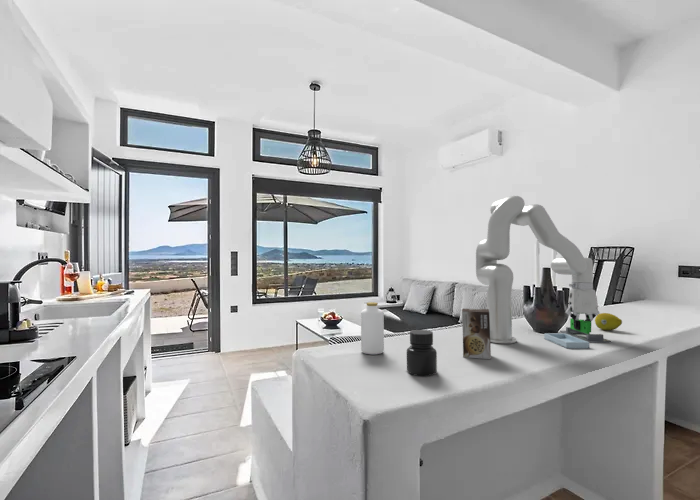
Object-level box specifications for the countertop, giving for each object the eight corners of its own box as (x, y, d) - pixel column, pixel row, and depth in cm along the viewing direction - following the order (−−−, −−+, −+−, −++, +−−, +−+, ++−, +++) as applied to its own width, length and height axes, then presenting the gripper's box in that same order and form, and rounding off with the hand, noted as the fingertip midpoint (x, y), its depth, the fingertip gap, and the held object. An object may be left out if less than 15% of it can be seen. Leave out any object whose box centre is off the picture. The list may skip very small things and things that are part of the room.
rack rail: (588, 342, 140) (588, 336, 140) (559, 332, 160) (559, 326, 160) (611, 342, 140) (611, 335, 140) (579, 331, 160) (579, 326, 160)
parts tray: (566, 348, 132) (566, 342, 132) (544, 338, 147) (544, 333, 147) (589, 348, 132) (589, 342, 132) (565, 338, 147) (565, 333, 147)
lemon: (590, 329, 166) (589, 312, 166) (601, 327, 169) (601, 311, 169) (614, 333, 156) (613, 315, 156) (625, 332, 159) (625, 314, 159)
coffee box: (490, 354, 124) (489, 308, 124) (491, 359, 118) (490, 311, 118) (462, 352, 127) (462, 307, 127) (462, 357, 121) (461, 310, 121)
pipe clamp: (596, 334, 144) (596, 322, 144) (586, 334, 144) (586, 322, 144) (578, 328, 156) (578, 318, 156) (570, 328, 156) (570, 318, 156)
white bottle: (387, 350, 130) (386, 302, 131) (379, 356, 123) (378, 304, 123) (366, 348, 134) (365, 301, 134) (357, 354, 126) (357, 303, 127)
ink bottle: (444, 373, 104) (443, 333, 105) (422, 379, 100) (422, 336, 100) (420, 365, 113) (420, 327, 113) (399, 370, 108) (399, 331, 108)
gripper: (567, 286, 147) (567, 331, 147) (608, 287, 147) (608, 331, 146) (557, 285, 154) (557, 327, 154) (596, 286, 154) (596, 328, 154)
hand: (582, 329), depth 150 cm, fingers closed on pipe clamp, 3 cm apart
